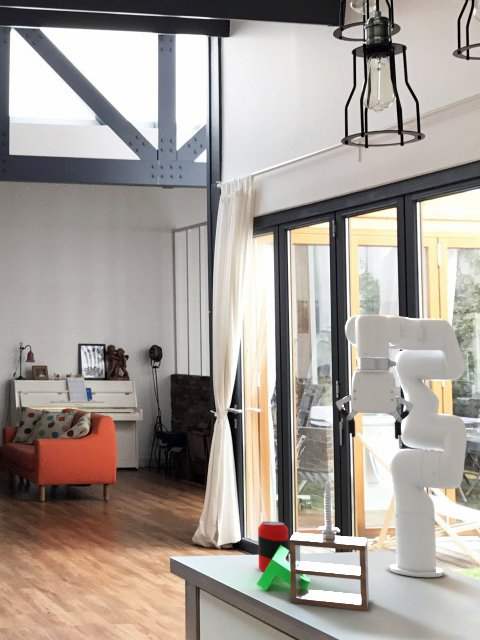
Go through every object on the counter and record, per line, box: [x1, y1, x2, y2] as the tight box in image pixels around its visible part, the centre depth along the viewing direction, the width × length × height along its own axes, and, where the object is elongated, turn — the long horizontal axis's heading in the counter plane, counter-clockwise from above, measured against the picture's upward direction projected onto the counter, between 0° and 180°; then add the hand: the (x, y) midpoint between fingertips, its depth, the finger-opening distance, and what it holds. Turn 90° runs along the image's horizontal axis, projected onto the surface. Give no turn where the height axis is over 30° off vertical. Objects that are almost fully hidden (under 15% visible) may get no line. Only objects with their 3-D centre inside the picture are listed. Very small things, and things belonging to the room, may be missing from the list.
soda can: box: [257, 520, 290, 573], centre depth 264 cm, size 8×8×12 cm
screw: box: [316, 480, 341, 540], centre depth 232 cm, size 13×5×5 cm
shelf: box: [289, 532, 370, 612], centre depth 230 cm, size 10×16×14 cm, turn 66°
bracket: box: [256, 545, 312, 591], centre depth 248 cm, size 20×10×7 cm
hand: (375, 437), depth 242 cm, fingers open, 9 cm apart
